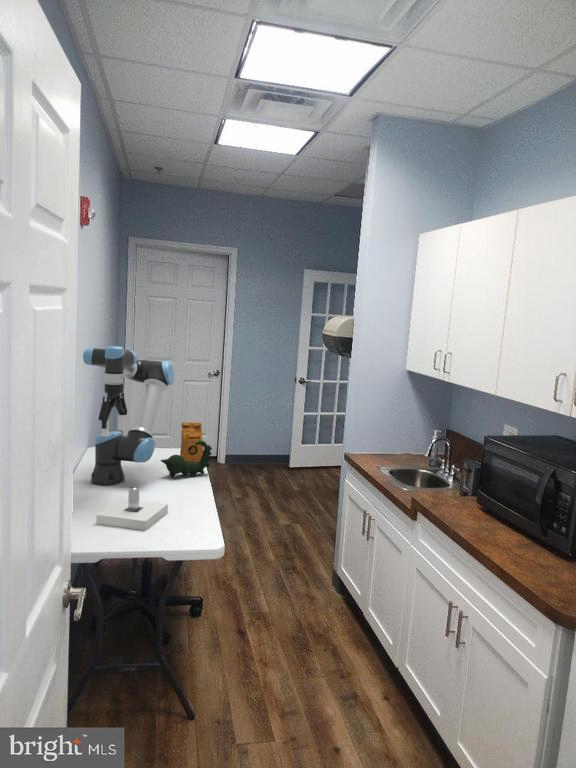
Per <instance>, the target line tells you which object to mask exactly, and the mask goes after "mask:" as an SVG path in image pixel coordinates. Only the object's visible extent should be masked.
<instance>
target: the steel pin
mask: <svg viewBox="0 0 576 768" xmlns="http://www.w3.org/2000/svg"><path fill="white" fill-rule="evenodd" d="M127 499H128V511H129V512H139V500H140V487H139V486H129V487H128V498H127Z"/></svg>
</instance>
